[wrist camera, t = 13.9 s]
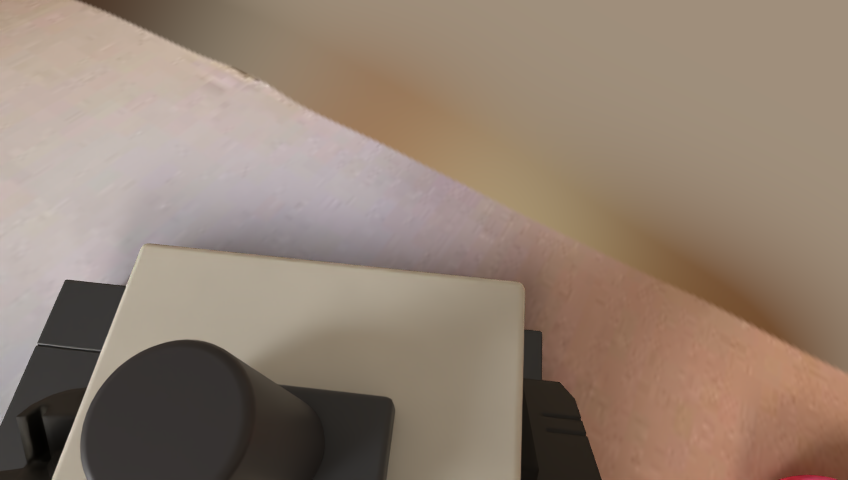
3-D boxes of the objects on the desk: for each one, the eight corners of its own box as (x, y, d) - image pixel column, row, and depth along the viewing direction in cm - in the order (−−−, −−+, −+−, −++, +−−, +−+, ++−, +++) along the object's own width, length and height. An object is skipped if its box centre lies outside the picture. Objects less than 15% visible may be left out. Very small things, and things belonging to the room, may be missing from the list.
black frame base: (98, 297, 21) (64, 278, 19) (530, 345, 20) (542, 330, 18) (-21, 591, 17) (-82, 607, 15) (524, 665, 16) (539, 692, 14)
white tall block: (445, 552, 14) (669, 1223, 1) (297, 534, 14) (-683, 980, 2) (456, 411, 16) (605, 130, 3) (323, 396, 16) (-57, 71, 3)
